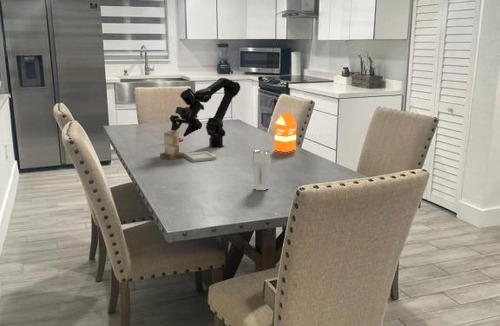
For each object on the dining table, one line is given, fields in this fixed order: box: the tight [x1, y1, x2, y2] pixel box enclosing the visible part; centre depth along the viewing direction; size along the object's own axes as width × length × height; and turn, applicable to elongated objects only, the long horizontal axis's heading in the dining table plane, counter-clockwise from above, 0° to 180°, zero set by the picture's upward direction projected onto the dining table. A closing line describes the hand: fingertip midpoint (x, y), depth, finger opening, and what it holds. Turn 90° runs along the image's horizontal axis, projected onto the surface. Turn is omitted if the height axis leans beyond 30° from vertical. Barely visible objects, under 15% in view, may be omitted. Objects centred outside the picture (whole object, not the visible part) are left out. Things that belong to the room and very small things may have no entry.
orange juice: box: [274, 112, 297, 153], centre depth 256 cm, size 8×9×20 cm
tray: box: [184, 150, 217, 163], centre depth 240 cm, size 12×12×2 cm
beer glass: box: [252, 149, 271, 191], centre depth 189 cm, size 7×7×15 cm
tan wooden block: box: [163, 129, 180, 155], centre depth 240 cm, size 5×5×13 cm
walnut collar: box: [159, 151, 185, 161], centre depth 241 cm, size 8×8×2 cm
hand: (177, 135), depth 242 cm, fingers open, 9 cm apart
